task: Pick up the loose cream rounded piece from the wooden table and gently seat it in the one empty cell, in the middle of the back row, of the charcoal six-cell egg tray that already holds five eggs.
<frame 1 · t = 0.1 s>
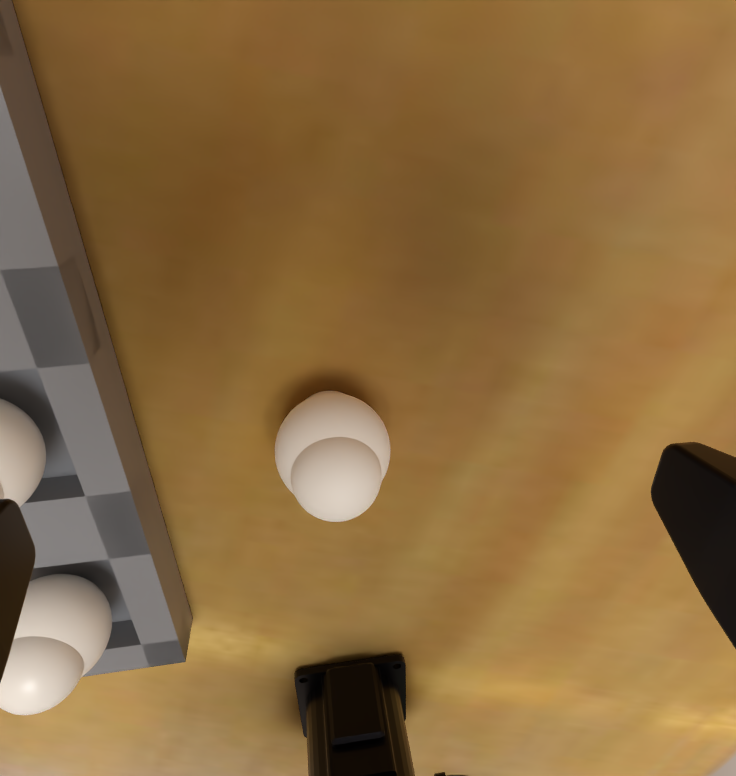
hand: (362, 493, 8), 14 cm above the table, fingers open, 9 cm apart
cream rounded piece: (328, 418, 24), on the table
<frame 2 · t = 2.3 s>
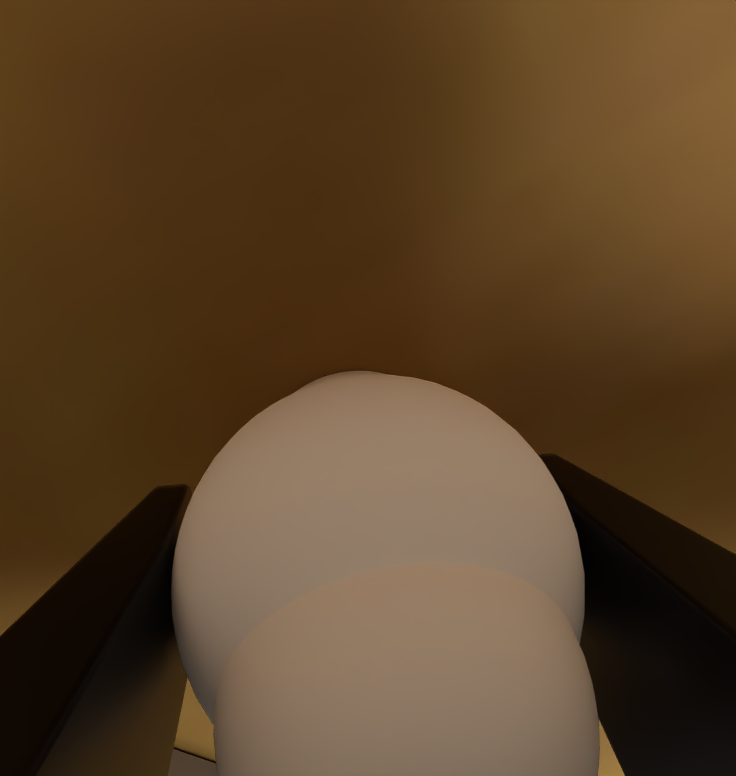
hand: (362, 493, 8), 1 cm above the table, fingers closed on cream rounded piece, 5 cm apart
cream rounded piece: (353, 450, 9), on the table, touching gripper
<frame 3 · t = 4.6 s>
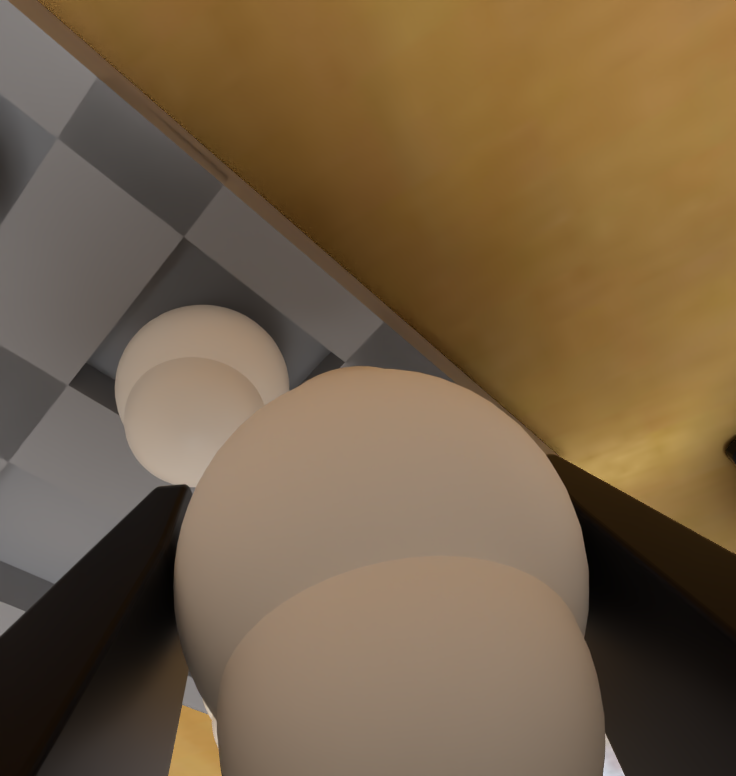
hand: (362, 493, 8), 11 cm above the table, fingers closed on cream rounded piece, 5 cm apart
cream rounded piece: (355, 446, 9), point 10 cm above the table, touching gripper
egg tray: (142, 428, 19), on the table
when the fingers open (3 cm above the table, at t = 7.2 s): cream rounded piece drops 1 cm, resting on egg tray.
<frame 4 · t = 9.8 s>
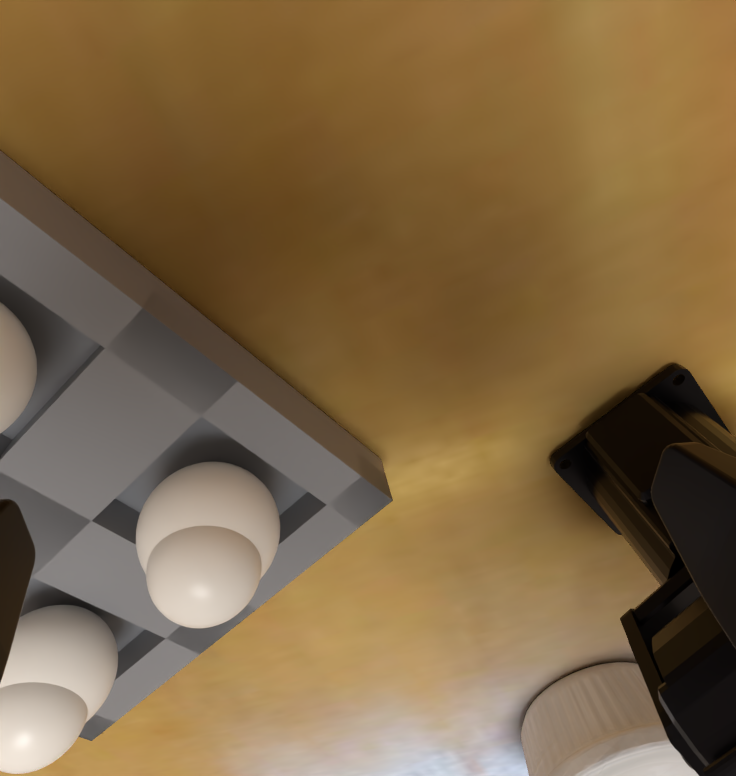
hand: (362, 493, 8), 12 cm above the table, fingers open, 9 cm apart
ramekin: (588, 701, 35), on the table
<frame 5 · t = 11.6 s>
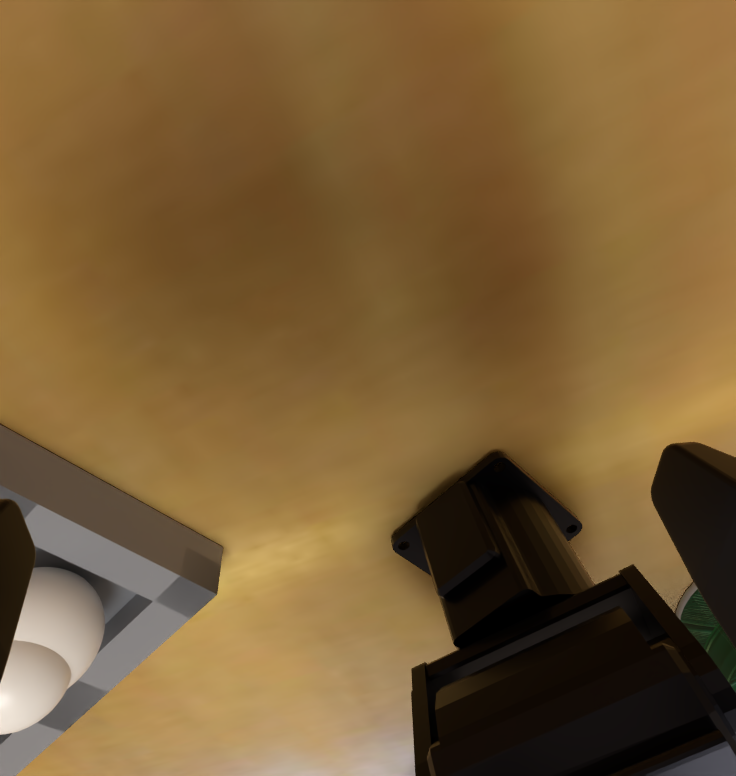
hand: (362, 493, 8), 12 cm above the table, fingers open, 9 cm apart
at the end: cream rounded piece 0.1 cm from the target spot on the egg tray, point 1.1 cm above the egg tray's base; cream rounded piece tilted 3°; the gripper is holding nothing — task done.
